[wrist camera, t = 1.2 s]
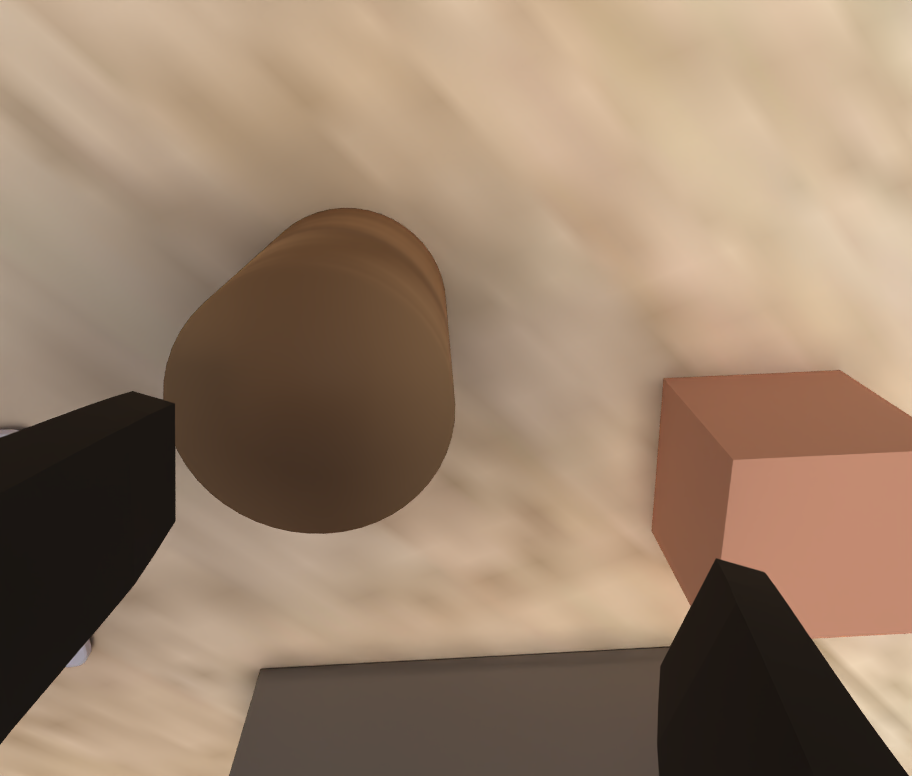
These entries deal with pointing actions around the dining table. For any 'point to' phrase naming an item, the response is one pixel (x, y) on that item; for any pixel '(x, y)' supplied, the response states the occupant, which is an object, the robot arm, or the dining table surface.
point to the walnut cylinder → (319, 377)
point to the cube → (791, 493)
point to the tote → (458, 717)
